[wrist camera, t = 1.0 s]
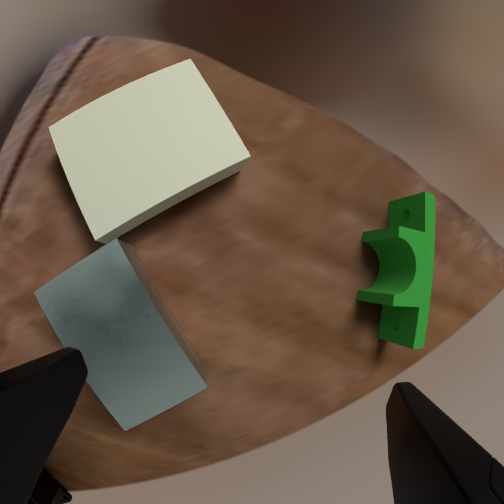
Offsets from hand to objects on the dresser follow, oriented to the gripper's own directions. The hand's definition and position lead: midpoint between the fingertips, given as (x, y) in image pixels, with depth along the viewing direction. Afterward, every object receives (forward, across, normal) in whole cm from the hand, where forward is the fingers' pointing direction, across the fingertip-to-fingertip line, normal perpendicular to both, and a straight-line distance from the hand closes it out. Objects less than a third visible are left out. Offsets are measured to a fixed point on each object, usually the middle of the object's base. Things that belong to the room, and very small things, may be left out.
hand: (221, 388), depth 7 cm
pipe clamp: (+17, -8, +3) cm, 19 cm away
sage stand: (+13, +8, -6) cm, 16 cm away
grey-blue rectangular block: (+9, +8, +4) cm, 13 cm away
